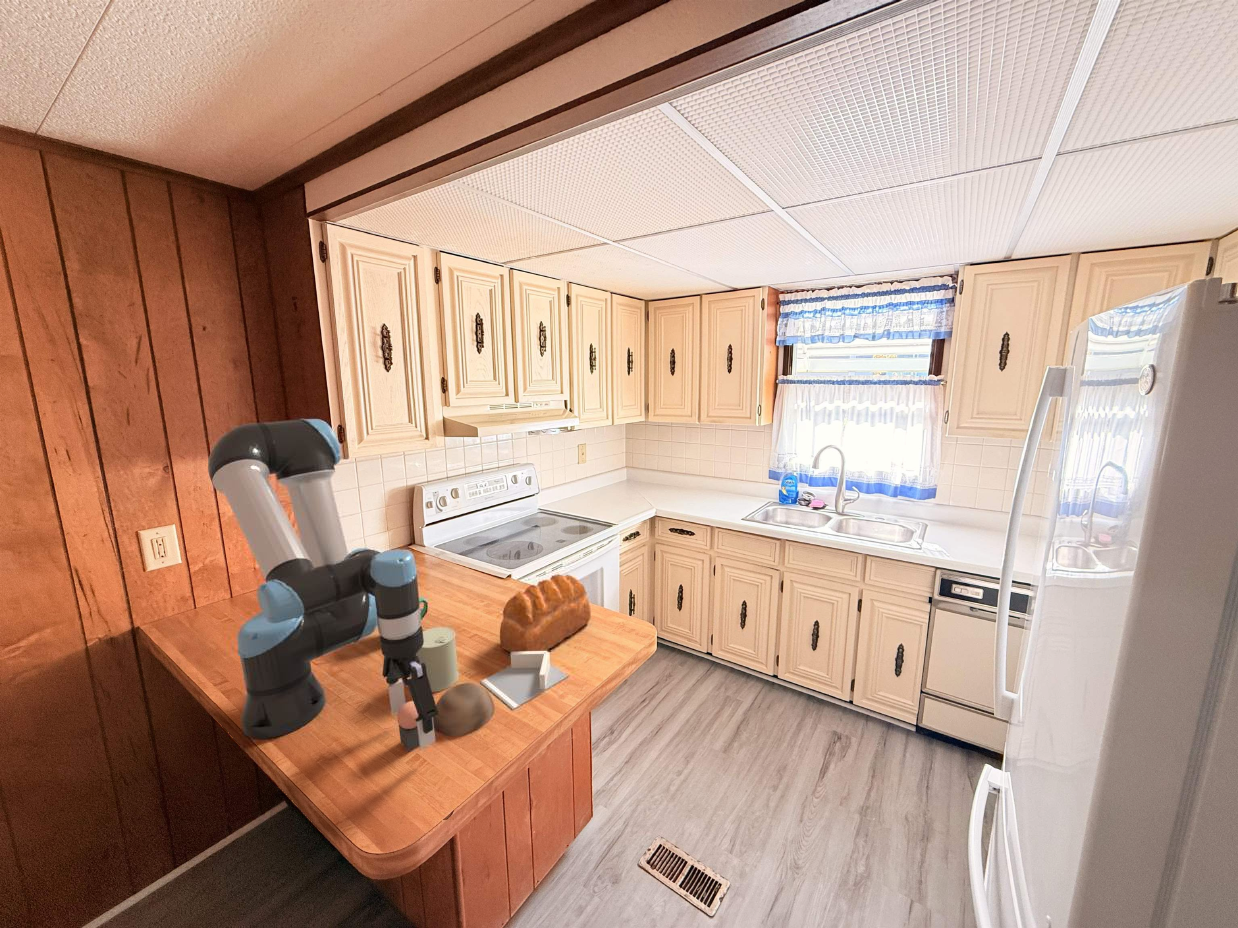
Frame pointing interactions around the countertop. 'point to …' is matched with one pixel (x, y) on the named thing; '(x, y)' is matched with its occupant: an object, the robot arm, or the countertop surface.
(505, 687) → the grey walled tray
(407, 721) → the ball
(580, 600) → the bread
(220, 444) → the robot arm
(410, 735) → the dark grey hollow cube
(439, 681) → the can
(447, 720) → the dome
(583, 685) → the countertop surface
